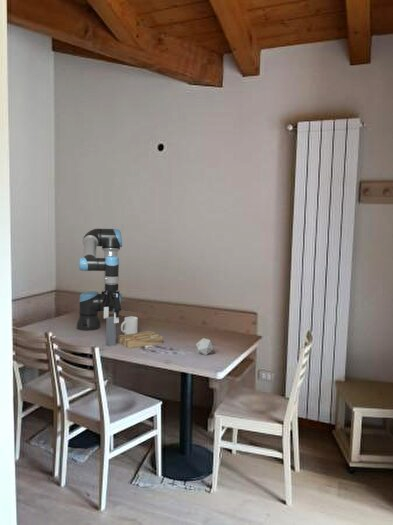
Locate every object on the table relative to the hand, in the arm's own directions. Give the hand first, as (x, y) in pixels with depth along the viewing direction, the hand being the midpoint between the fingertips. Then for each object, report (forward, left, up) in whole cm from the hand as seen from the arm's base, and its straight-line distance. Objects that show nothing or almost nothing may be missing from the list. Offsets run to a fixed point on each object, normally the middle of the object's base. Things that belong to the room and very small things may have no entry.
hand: (111, 320), depth 266 cm
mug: (-15, +19, -15) cm, 29 cm away
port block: (+4, +17, -14) cm, 23 cm away
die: (+39, +38, -15) cm, 56 cm away
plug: (0, 0, -14) cm, 14 cm away
